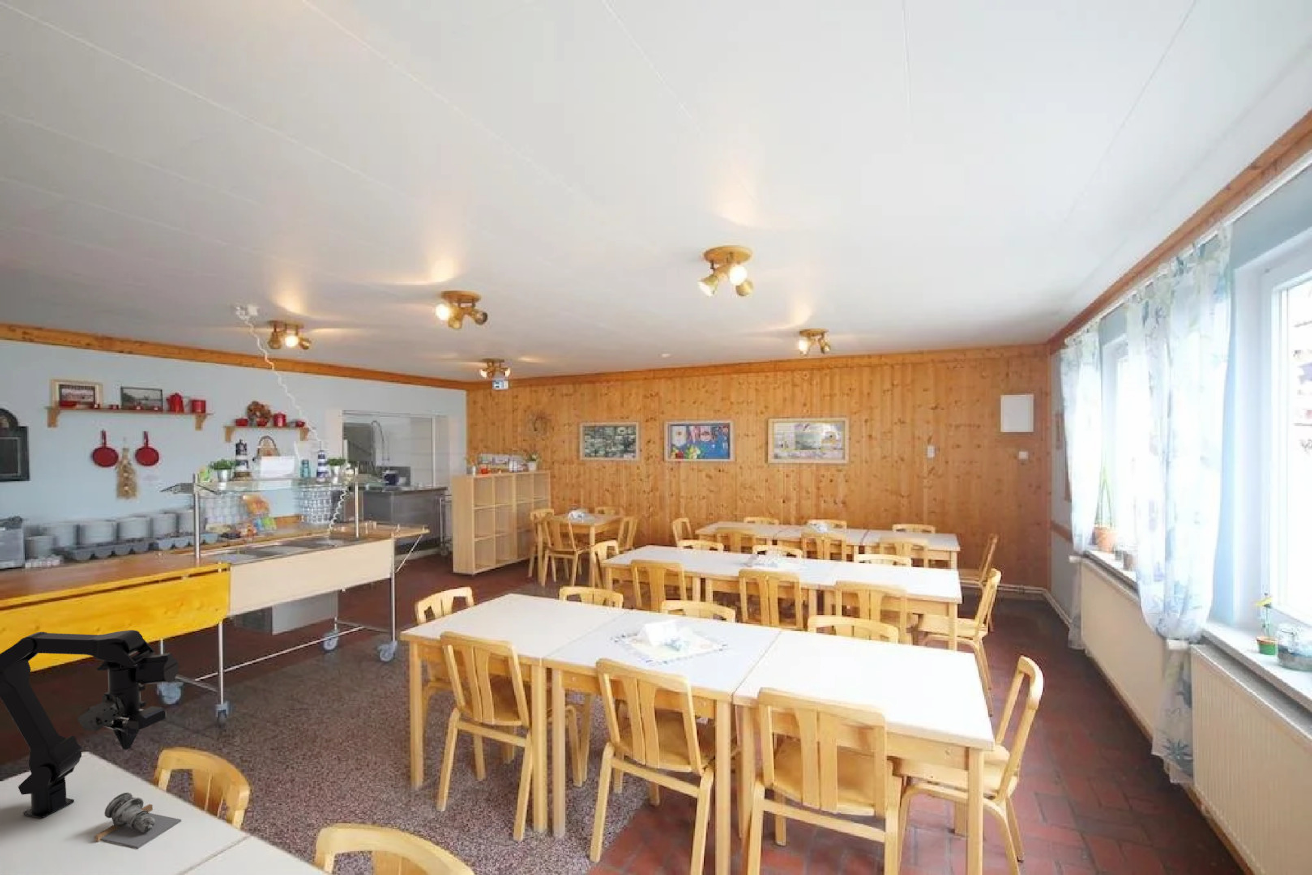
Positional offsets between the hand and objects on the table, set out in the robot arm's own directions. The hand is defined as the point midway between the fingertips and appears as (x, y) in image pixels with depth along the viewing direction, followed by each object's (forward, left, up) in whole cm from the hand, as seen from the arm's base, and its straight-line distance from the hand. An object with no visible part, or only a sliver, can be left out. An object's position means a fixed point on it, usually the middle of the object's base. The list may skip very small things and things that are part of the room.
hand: (126, 748), depth 143 cm
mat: (+15, -8, -12) cm, 21 cm away
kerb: (+9, -7, -12) cm, 17 cm away
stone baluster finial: (+8, -7, -8) cm, 13 cm away
